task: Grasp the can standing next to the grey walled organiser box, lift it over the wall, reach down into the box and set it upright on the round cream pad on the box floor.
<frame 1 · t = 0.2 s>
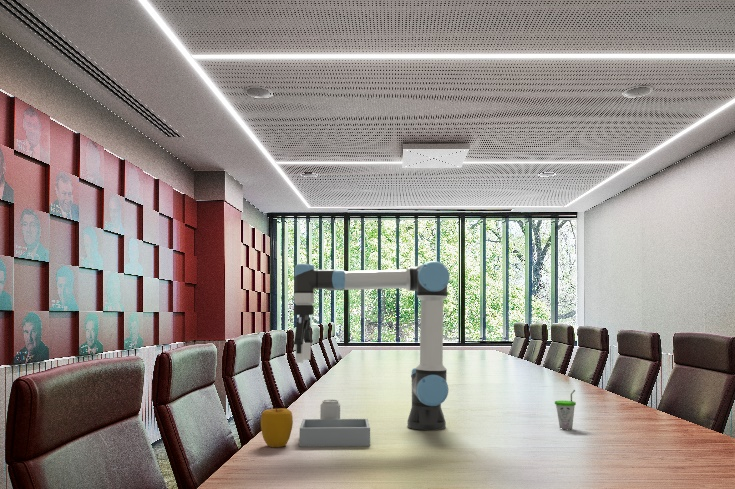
hand: (303, 361, 232), 27 cm above the table, fingers open, 13 cm apart
cup: (566, 429, 241), on the table
apple: (276, 446, 210), on the table
can: (330, 433, 233), on the table
walled box: (335, 440, 218), on the table
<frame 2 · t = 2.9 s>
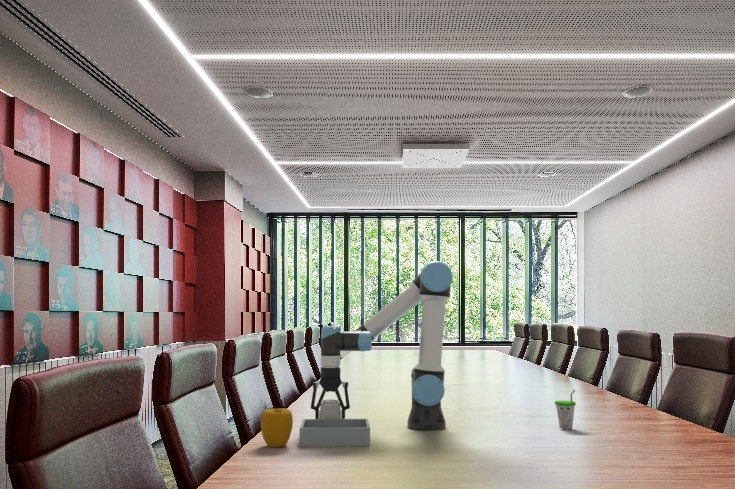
hand: (330, 427, 233), 2 cm above the table, fingers closed on can, 7 cm apart
can: (330, 433, 233), on the table, touching gripper
everything else where it was.
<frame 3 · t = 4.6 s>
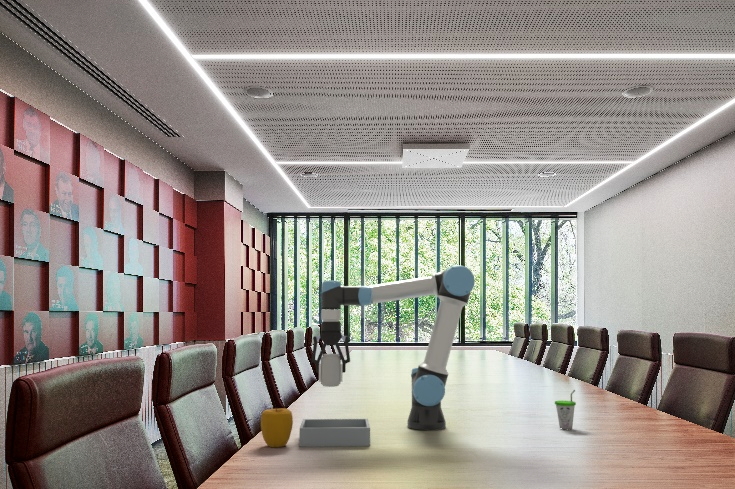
hand: (330, 381, 235), 19 cm above the table, fingers closed on can, 7 cm apart
can: (330, 386, 234), point 17 cm above the table, touching gripper
everything else where it was.
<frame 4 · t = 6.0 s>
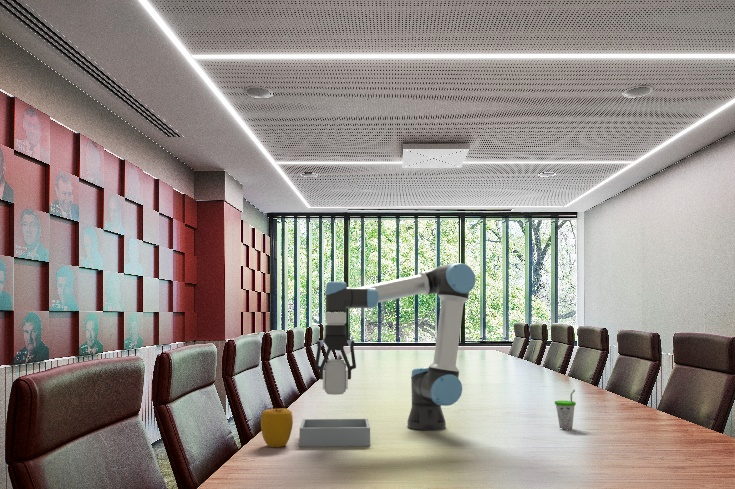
hand: (335, 388, 220), 18 cm above the table, fingers closed on can, 7 cm apart
can: (335, 394, 220), point 16 cm above the table, touching gripper
everything else where it was.
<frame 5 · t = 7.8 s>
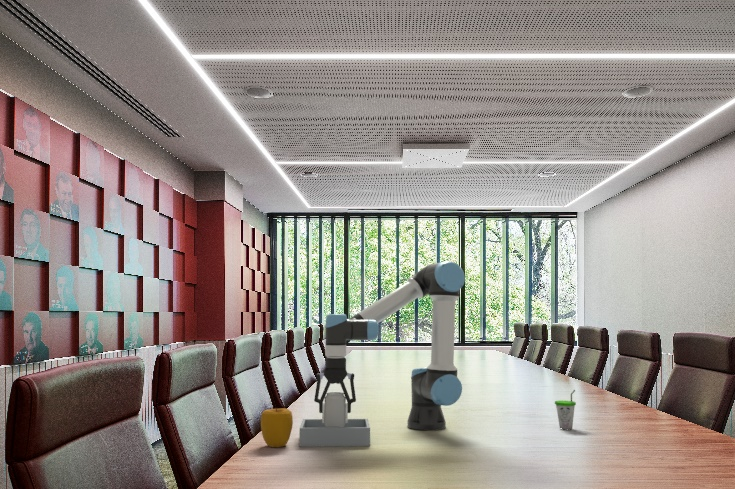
hand: (334, 422, 219), 6 cm above the table, fingers closed on can, 7 cm apart
can: (334, 427, 218), point 4 cm above the table, touching gripper
everything else where it was.
when the fingers open (4 cm above the table, at t = 9.2 s): can drops 1 cm, resting on walled box.
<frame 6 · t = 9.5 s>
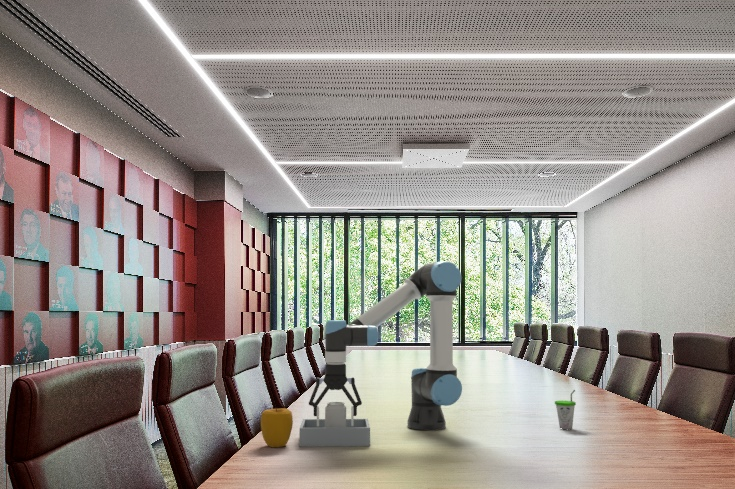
hand: (335, 425, 219), 5 cm above the table, fingers open, 11 cm apart
can: (335, 437, 218), point 1 cm above the table, touching walled box
everything else where it was.
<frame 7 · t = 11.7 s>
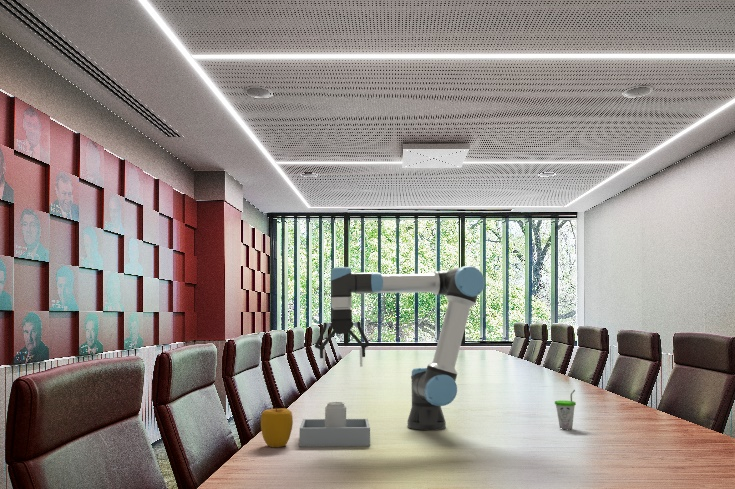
hand: (342, 367, 226), 25 cm above the table, fingers open, 13 cm apart
nothing on the table moved.
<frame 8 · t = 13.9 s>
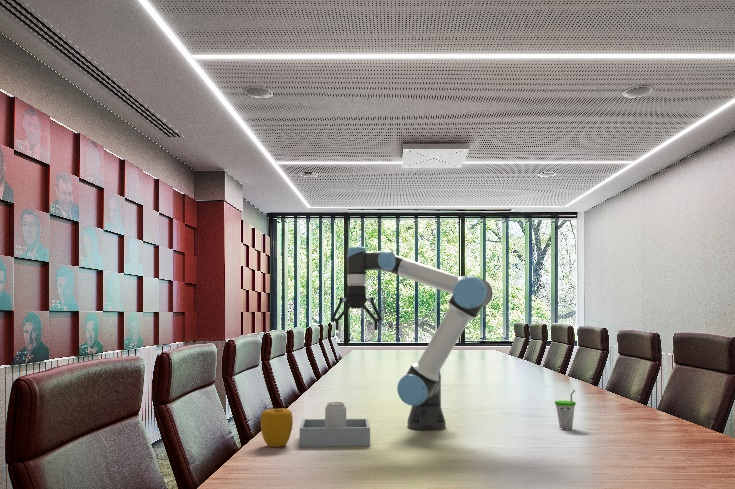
hand: (356, 338, 245), 35 cm above the table, fingers open, 13 cm apart
nothing on the table moved.
at the end: can inside the target area on the walled box (0.2 cm from its centre), point 1.0 cm above the walled box's base; can 0.2 cm from the walled box (horizontally); can tilted 0° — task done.
